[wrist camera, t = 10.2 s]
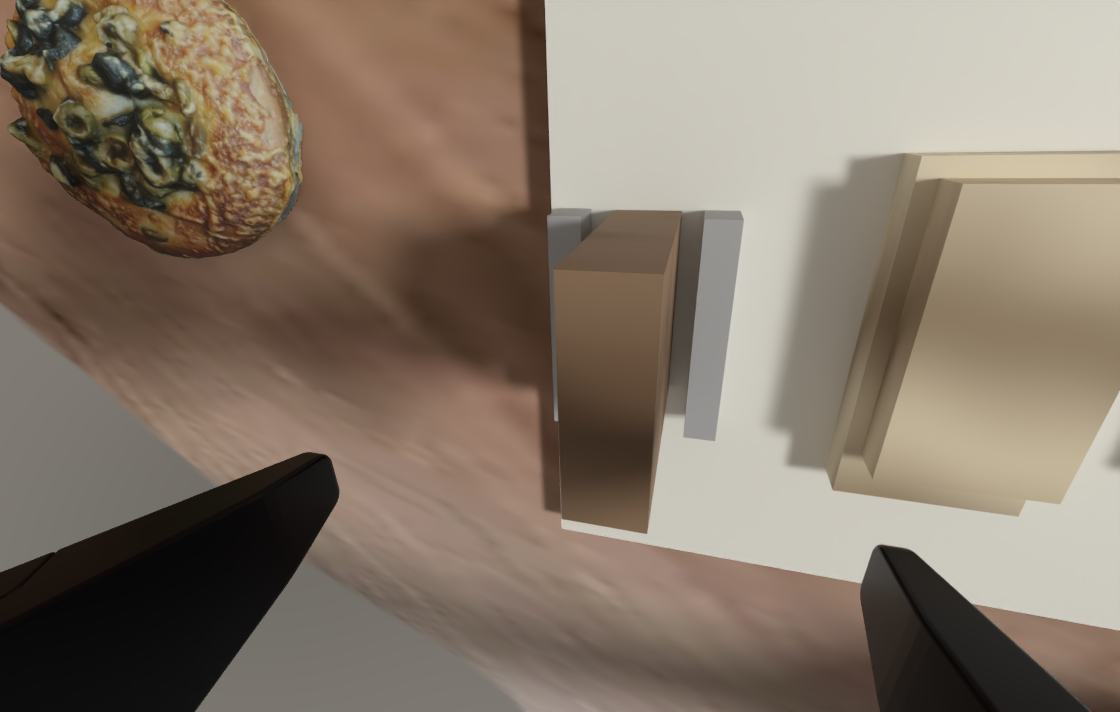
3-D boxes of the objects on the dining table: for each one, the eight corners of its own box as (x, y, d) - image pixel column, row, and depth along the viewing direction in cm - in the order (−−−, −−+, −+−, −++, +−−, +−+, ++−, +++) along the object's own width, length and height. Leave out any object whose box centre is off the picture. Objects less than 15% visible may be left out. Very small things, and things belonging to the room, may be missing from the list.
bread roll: (104, 228, 22) (-44, 236, 18) (68, -67, 19) (-131, -156, 14) (324, 283, 21) (227, 308, 16) (333, -22, 17) (211, -103, 13)
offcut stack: (997, 490, 16) (1041, 547, 14) (825, 467, 17) (841, 516, 15) (1150, 150, 11) (1249, 156, 9) (904, 152, 13) (943, 159, 11)
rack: (1268, 634, 16) (1355, 713, 14) (567, 512, 22) (552, 555, 20) (2012, -205, 8) (2521, -333, 6) (553, -38, 14) (524, -68, 12)
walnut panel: (668, 387, 17) (646, 533, 11) (611, 381, 18) (561, 519, 12) (682, 211, 15) (664, 274, 9) (615, 209, 15) (552, 269, 9)
